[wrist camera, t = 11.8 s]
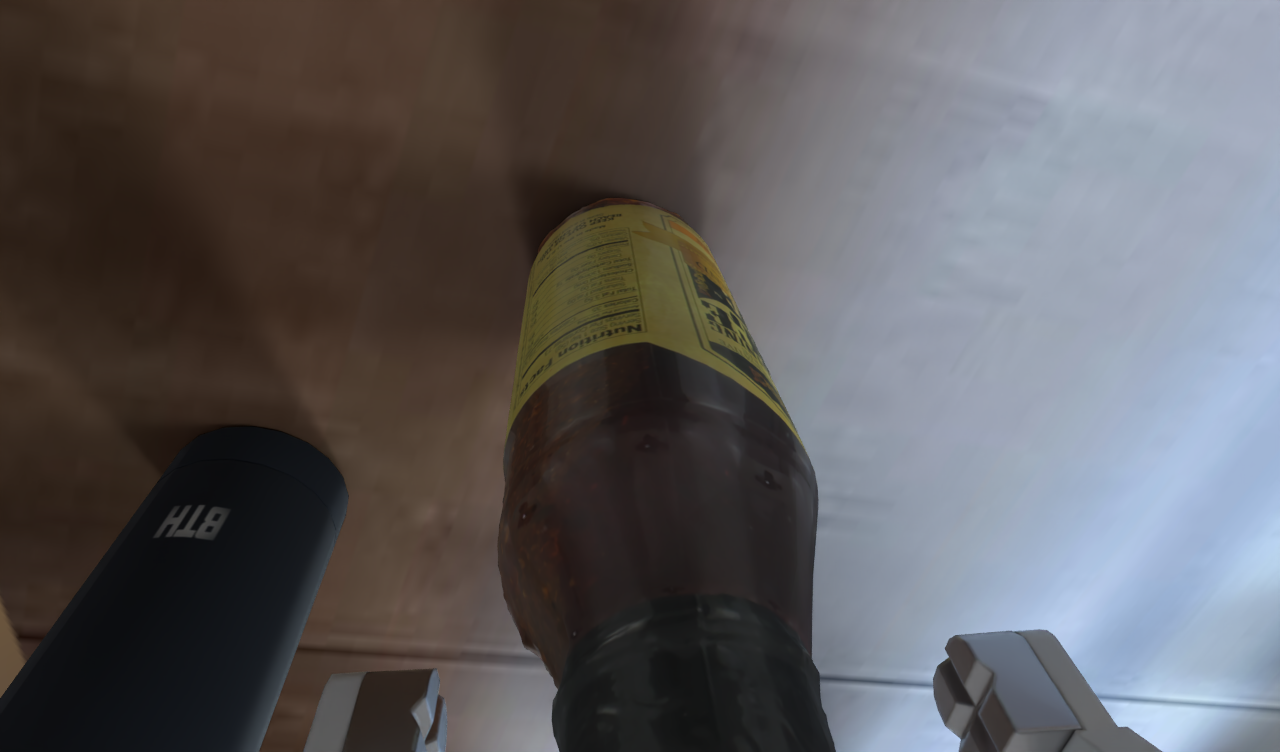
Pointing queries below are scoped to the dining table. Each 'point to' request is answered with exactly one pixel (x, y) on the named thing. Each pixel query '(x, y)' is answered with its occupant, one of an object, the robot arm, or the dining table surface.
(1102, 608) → the dining table surface
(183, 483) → the navy water bottle
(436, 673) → the robot arm
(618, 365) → the sauce bottle
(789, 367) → the dining table surface
